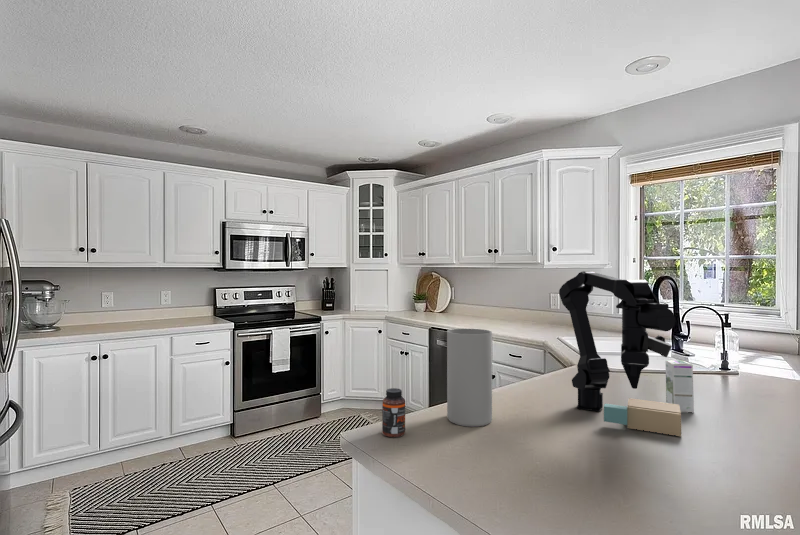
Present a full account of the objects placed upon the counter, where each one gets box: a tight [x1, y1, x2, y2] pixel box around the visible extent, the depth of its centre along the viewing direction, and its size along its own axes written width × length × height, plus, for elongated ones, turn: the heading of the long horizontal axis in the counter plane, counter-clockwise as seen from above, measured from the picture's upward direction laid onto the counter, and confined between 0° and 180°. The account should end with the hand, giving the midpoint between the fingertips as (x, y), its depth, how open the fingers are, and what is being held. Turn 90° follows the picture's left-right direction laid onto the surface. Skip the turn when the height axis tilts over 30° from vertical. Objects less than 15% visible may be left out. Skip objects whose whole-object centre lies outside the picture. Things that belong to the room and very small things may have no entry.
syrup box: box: [664, 359, 695, 414], centre depth 131 cm, size 6×6×14 cm
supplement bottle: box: [381, 387, 406, 438], centre depth 111 cm, size 6×6×11 cm
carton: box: [627, 397, 682, 431], centre depth 116 cm, size 12×8×6 cm, turn 60°
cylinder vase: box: [446, 328, 493, 428], centre depth 122 cm, size 12×12×25 cm
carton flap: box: [603, 403, 682, 437], centre depth 112 cm, size 18×3×6 cm, turn 60°
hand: (634, 384), depth 116 cm, fingers open, 9 cm apart
